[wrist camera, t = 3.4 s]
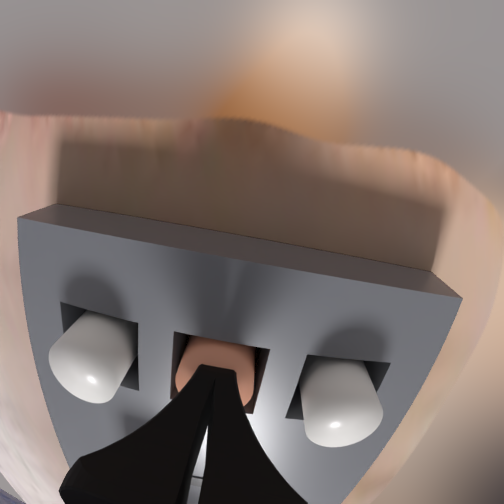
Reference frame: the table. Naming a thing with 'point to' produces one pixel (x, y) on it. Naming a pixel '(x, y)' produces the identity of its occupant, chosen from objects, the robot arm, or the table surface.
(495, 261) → the table surface
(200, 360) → the middle button
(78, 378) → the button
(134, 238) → the control panel
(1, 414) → the table surface
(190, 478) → the robot arm
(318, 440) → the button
